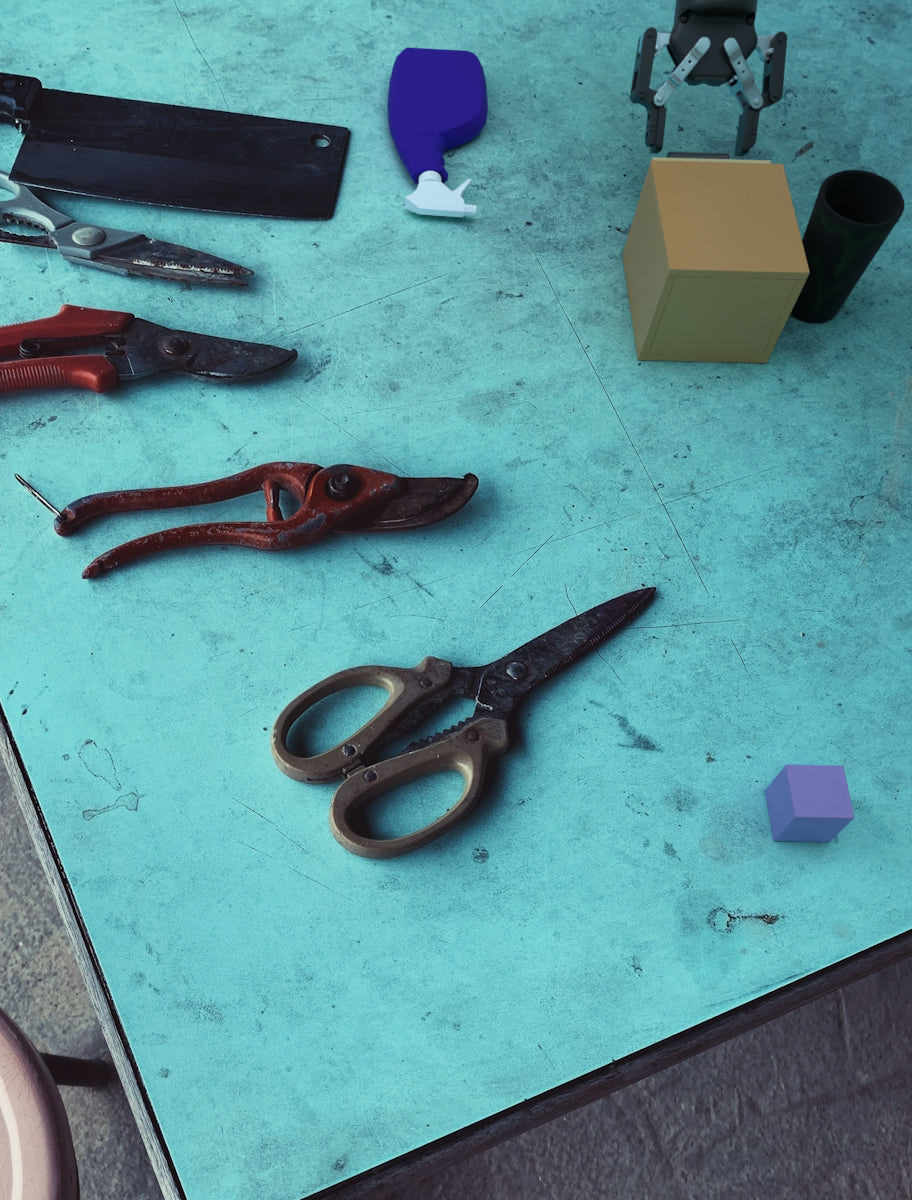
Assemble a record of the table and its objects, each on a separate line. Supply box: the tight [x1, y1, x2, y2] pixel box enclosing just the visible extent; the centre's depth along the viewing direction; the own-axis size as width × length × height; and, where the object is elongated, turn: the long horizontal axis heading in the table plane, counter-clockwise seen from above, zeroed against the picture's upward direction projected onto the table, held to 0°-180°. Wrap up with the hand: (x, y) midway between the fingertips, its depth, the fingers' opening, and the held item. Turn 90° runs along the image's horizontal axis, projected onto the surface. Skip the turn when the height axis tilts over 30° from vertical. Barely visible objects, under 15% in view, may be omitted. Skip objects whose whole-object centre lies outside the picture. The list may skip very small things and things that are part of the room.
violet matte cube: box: [764, 764, 855, 843], centre depth 93 cm, size 4×4×4 cm
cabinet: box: [621, 159, 810, 364], centre depth 114 cm, size 15×13×11 cm
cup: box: [790, 169, 905, 325], centre depth 114 cm, size 8×8×12 cm
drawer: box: [651, 151, 772, 164], centre depth 116 cm, size 18×11×9 cm, turn 0°
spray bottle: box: [387, 47, 489, 218], centre depth 128 cm, size 3×11×24 cm
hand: (698, 153), depth 118 cm, fingers open, 8 cm apart
